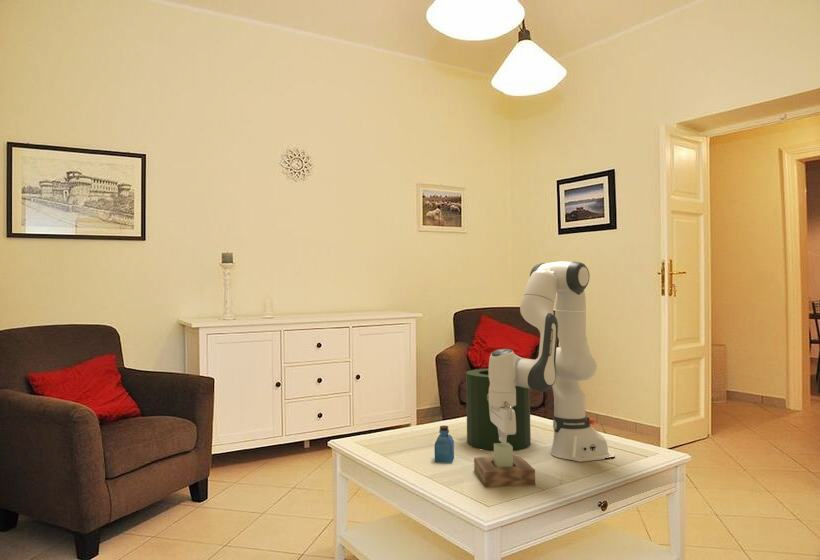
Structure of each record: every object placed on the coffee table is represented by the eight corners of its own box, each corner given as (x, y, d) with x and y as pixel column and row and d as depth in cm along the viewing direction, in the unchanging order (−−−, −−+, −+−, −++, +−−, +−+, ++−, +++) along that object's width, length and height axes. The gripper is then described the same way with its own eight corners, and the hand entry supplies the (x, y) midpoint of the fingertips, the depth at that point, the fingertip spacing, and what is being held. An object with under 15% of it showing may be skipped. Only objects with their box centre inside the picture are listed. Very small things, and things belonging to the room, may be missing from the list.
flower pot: (543, 442, 227) (541, 372, 228) (505, 455, 210) (504, 379, 210) (492, 431, 245) (491, 366, 246) (454, 443, 228) (453, 373, 228)
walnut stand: (520, 468, 194) (520, 455, 194) (535, 484, 178) (535, 470, 178) (474, 470, 192) (474, 457, 192) (485, 487, 176) (484, 472, 176)
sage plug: (509, 470, 188) (508, 442, 188) (513, 474, 183) (512, 446, 183) (494, 470, 187) (493, 443, 187) (497, 475, 182) (497, 447, 182)
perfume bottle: (451, 462, 202) (451, 428, 202) (434, 462, 203) (434, 428, 203) (454, 457, 208) (453, 424, 208) (437, 457, 209) (436, 424, 209)
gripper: (521, 405, 175) (521, 450, 175) (503, 393, 196) (504, 434, 195) (501, 405, 175) (501, 451, 174) (485, 394, 195) (486, 434, 195)
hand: (502, 442), depth 185 cm, fingers closed
